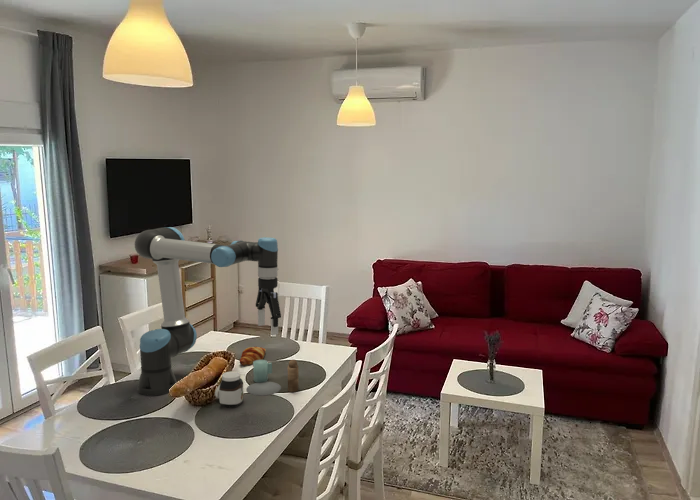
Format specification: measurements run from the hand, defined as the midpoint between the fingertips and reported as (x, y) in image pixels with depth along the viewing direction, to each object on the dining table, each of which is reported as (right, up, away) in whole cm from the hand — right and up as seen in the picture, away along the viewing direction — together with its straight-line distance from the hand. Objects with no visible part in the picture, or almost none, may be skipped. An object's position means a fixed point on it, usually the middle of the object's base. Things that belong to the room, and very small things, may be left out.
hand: (267, 329), depth 215 cm
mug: (-5, -24, +16) cm, 29 cm away
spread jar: (-14, -27, -6) cm, 31 cm away
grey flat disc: (-3, -25, +7) cm, 26 cm away
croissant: (-13, -21, +40) cm, 47 cm away
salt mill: (+9, -25, +6) cm, 28 cm away
